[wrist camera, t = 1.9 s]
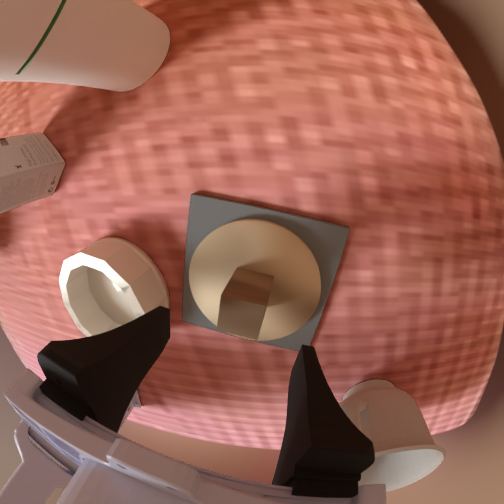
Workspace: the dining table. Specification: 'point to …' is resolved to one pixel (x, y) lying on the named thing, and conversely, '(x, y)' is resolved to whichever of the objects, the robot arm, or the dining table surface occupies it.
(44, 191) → the skincare box
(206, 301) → the lid
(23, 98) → the dining table surface
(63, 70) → the cylindrical container
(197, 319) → the mat
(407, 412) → the teacup
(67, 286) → the bowl
